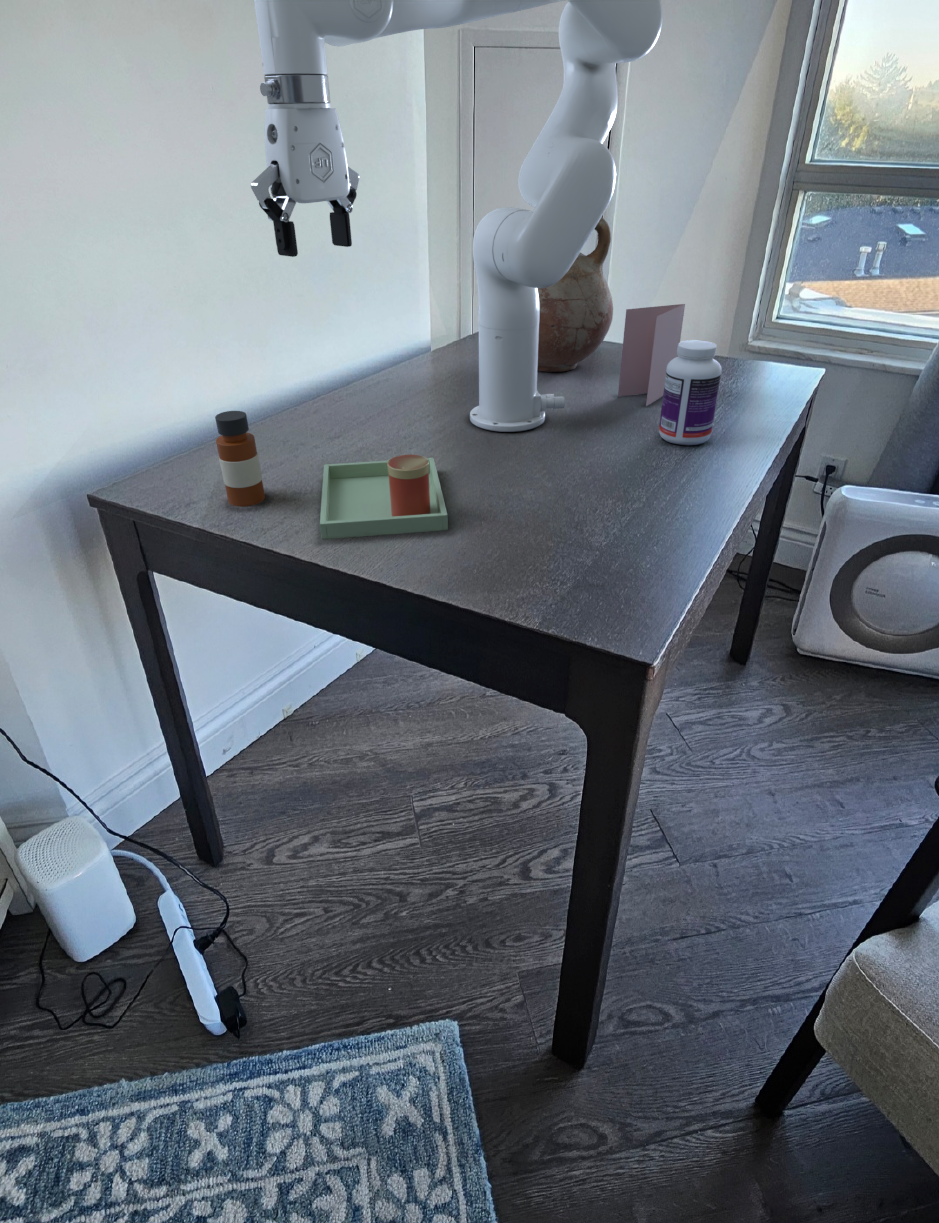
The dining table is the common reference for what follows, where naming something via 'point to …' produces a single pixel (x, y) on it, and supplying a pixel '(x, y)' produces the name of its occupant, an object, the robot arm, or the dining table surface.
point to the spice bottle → (239, 459)
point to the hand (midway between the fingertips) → (316, 250)
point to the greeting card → (649, 349)
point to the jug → (576, 310)
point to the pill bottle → (690, 394)
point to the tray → (372, 502)
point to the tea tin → (409, 485)
